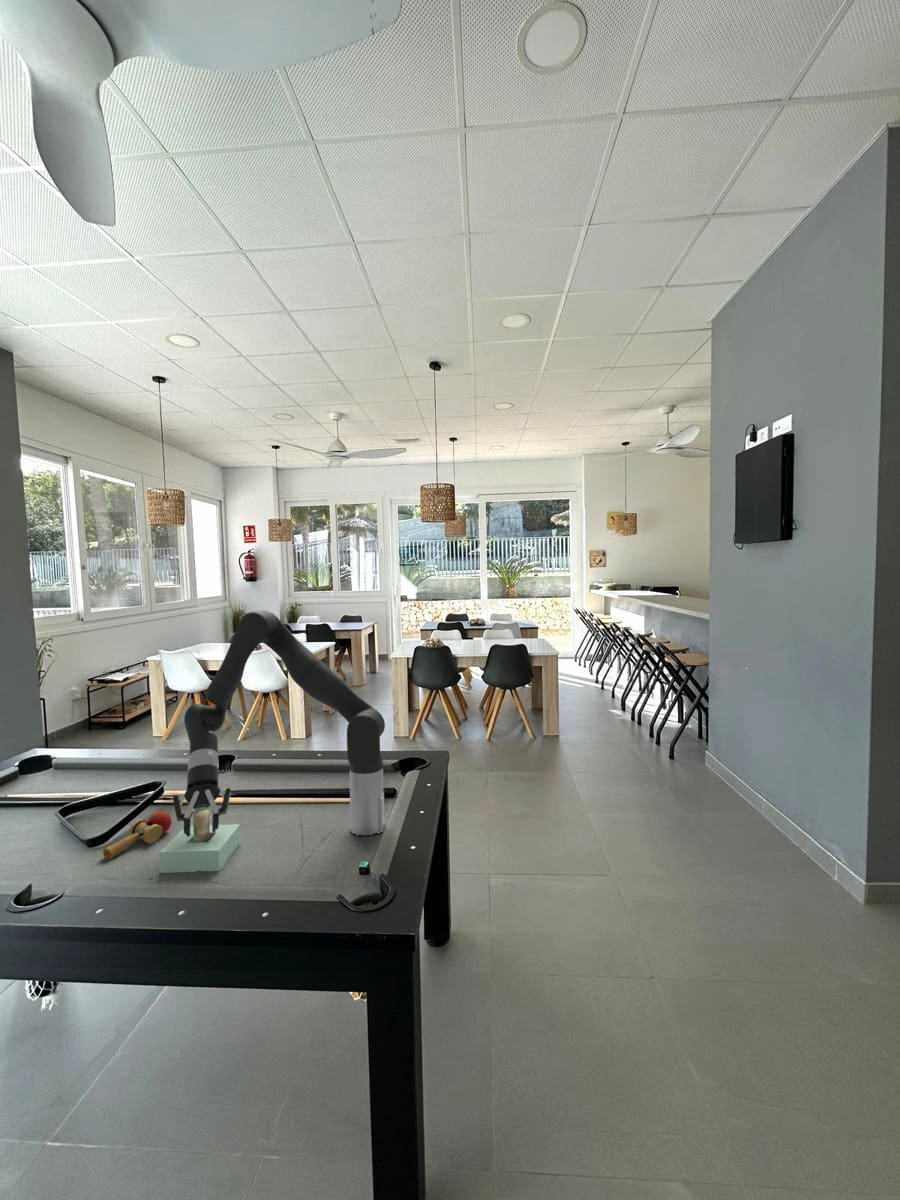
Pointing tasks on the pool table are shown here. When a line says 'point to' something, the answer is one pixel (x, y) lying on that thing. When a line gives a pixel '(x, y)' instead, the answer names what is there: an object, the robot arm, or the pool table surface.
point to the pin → (201, 825)
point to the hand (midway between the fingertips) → (201, 832)
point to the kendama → (142, 833)
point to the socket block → (199, 850)
